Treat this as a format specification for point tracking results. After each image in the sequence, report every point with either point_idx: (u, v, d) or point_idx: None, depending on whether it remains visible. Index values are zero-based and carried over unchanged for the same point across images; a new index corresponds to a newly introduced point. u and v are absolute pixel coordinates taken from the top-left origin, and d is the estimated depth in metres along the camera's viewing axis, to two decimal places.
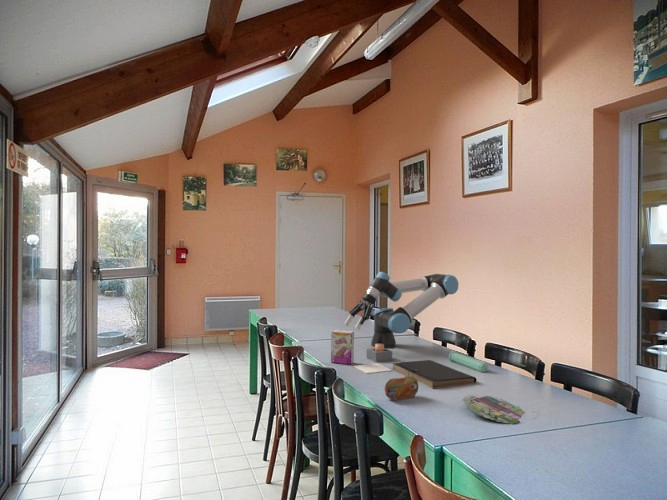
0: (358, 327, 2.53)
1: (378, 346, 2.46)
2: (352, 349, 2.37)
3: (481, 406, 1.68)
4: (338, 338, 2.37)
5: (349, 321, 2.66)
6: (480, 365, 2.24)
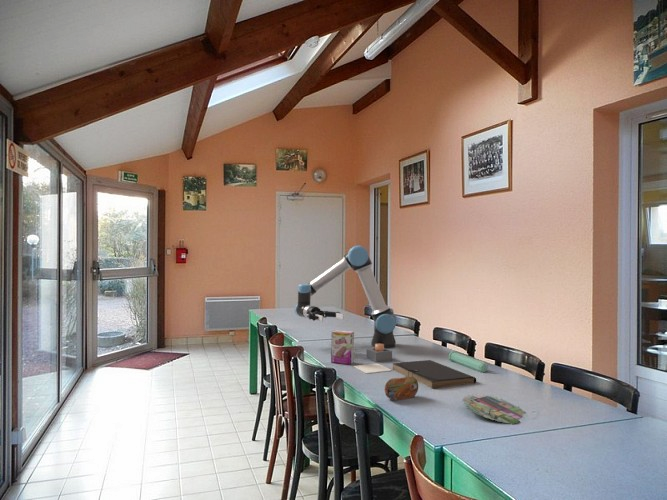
0: (320, 317, 2.44)
1: (378, 346, 2.46)
2: (352, 349, 2.37)
3: (481, 406, 1.68)
4: (338, 338, 2.37)
5: (339, 315, 2.53)
6: (480, 365, 2.24)
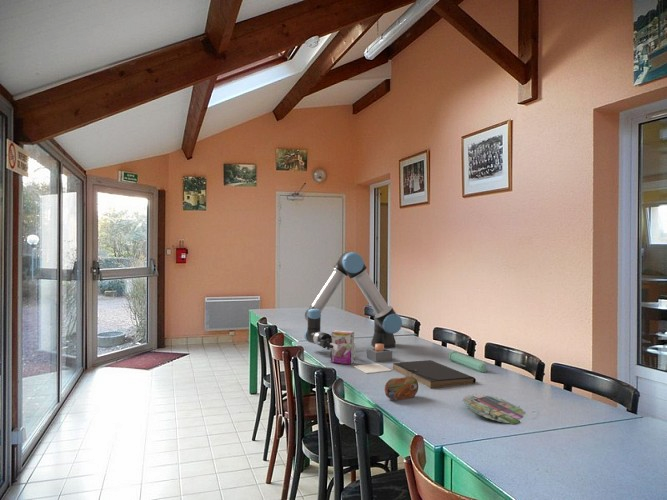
0: (335, 347, 2.34)
1: (378, 346, 2.46)
2: (352, 349, 2.37)
3: (481, 406, 1.68)
4: (338, 338, 2.37)
5: None
6: (479, 365, 2.23)
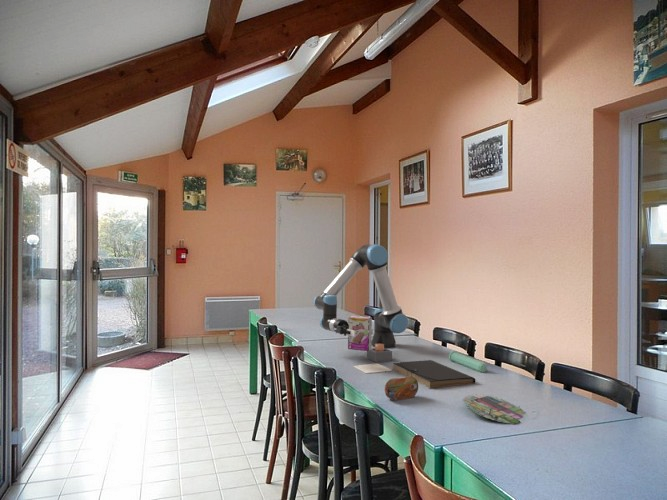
0: (353, 333, 2.26)
1: (378, 346, 2.46)
2: (370, 335, 2.29)
3: (481, 406, 1.68)
4: (355, 324, 2.29)
5: None
6: (479, 365, 2.23)
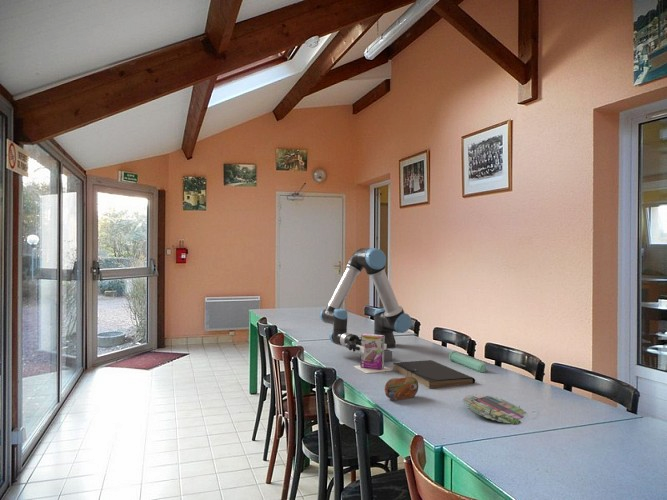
0: (362, 349, 2.23)
1: None
2: (383, 353, 2.26)
3: (482, 406, 1.68)
4: (368, 342, 2.26)
5: None
6: (479, 365, 2.23)
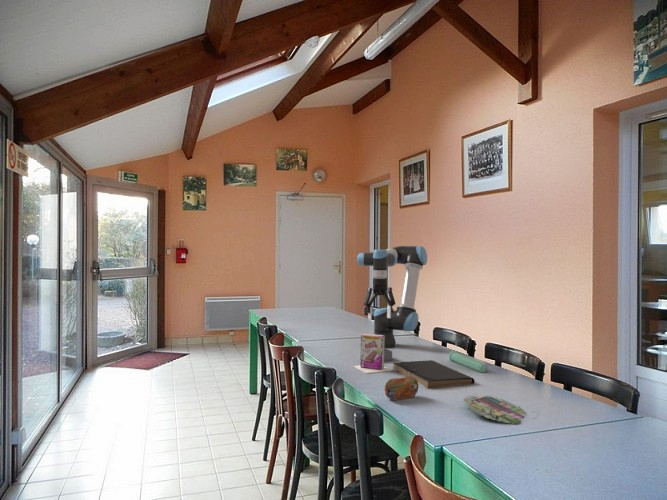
0: None
1: None
2: (383, 353, 2.26)
3: (482, 406, 1.68)
4: (368, 342, 2.26)
5: None
6: (479, 365, 2.23)
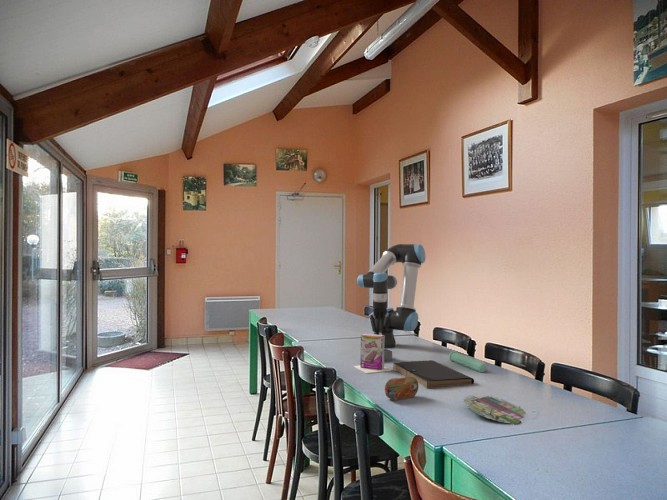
0: None
1: None
2: (383, 353, 2.26)
3: (482, 406, 1.68)
4: (368, 342, 2.26)
5: None
6: (479, 365, 2.23)
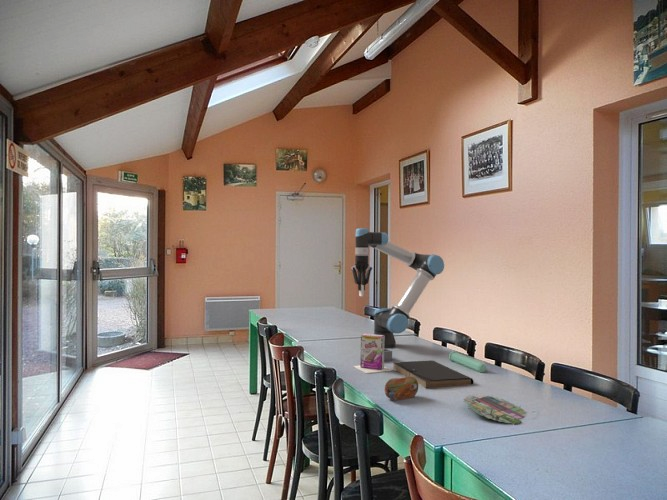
0: None
1: None
2: (383, 353, 2.26)
3: (482, 406, 1.68)
4: (368, 342, 2.26)
5: None
6: (479, 365, 2.23)
